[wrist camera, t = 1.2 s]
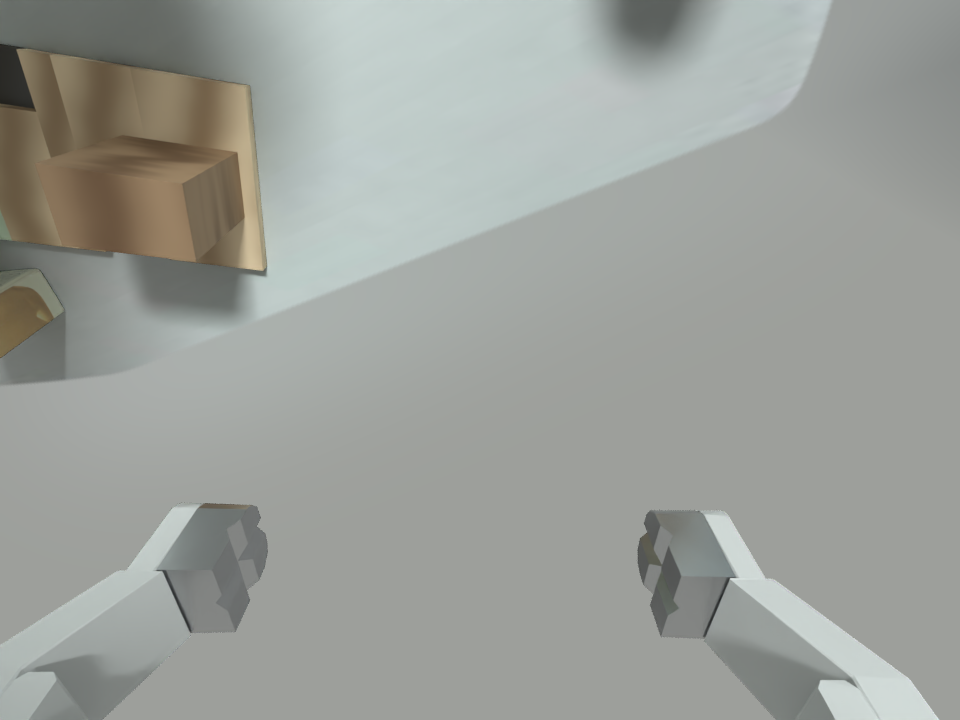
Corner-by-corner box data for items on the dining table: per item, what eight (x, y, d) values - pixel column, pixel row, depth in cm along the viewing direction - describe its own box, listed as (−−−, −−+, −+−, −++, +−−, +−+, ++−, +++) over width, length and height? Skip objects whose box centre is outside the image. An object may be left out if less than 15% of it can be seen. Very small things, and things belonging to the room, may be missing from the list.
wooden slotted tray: (249, 85, 35) (225, 92, 31) (266, 266, 43) (249, 288, 39) (-168, 16, 32) (-251, 14, 28) (-68, 225, 39) (-122, 245, 36)
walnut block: (237, 152, 36) (182, 183, 29) (244, 217, 39) (196, 261, 32) (122, 135, 35) (34, 163, 28) (138, 203, 38) (62, 245, 31)
